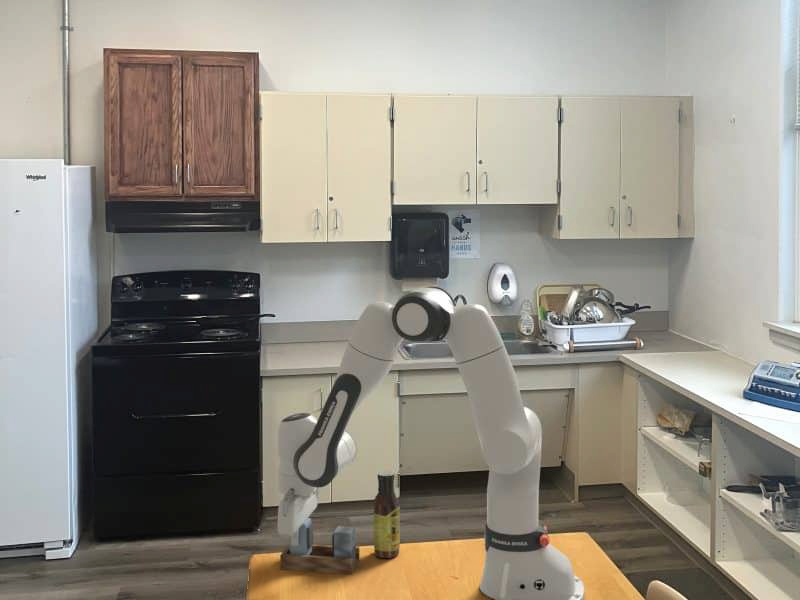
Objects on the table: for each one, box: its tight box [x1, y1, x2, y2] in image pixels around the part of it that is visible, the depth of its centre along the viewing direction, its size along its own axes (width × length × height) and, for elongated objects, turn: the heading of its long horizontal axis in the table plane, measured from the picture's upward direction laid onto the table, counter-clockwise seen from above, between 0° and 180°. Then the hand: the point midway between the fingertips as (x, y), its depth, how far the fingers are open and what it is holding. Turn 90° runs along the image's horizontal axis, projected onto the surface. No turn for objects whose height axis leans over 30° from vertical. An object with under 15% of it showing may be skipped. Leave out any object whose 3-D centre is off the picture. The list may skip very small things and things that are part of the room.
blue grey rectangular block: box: [289, 517, 315, 555], centre depth 205 cm, size 5×4×8 cm
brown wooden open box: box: [279, 525, 361, 575], centre depth 204 cm, size 17×8×9 cm, turn 79°
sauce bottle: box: [372, 470, 401, 559], centre depth 209 cm, size 6×6×20 cm
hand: (299, 539), depth 205 cm, fingers closed on blue grey rectangular block, 4 cm apart
